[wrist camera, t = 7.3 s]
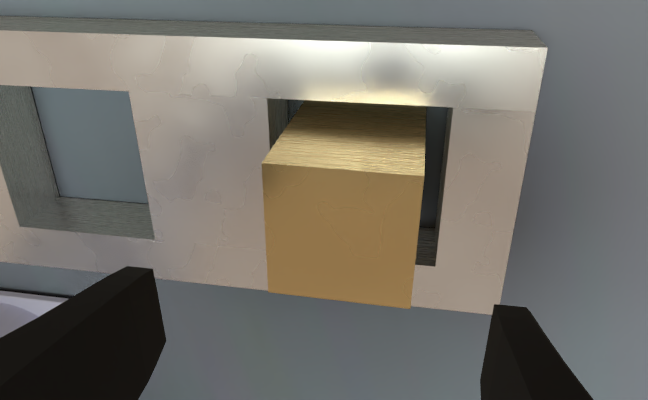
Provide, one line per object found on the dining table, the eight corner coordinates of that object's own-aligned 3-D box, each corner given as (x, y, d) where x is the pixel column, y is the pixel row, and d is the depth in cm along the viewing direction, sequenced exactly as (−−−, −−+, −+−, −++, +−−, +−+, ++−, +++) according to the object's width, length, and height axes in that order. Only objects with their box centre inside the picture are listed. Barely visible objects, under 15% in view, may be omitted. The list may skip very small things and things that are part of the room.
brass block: (415, 205, 20) (410, 309, 15) (310, 196, 20) (268, 292, 15) (426, 100, 18) (424, 175, 13) (309, 93, 19) (261, 163, 13)
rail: (490, 273, 21) (497, 315, 18) (22, 228, 24) (-20, 259, 21) (532, 30, 16) (547, 47, 14) (-44, 15, 19) (-104, 26, 17)
